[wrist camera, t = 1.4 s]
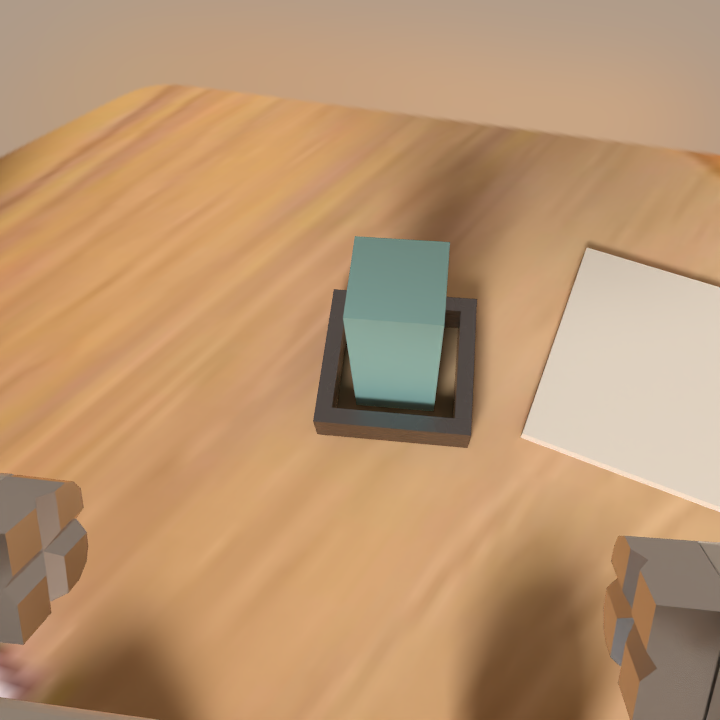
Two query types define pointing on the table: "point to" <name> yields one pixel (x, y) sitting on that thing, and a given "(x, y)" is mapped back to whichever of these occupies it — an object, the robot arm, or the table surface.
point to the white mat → (636, 378)
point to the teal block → (396, 320)
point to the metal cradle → (395, 424)
